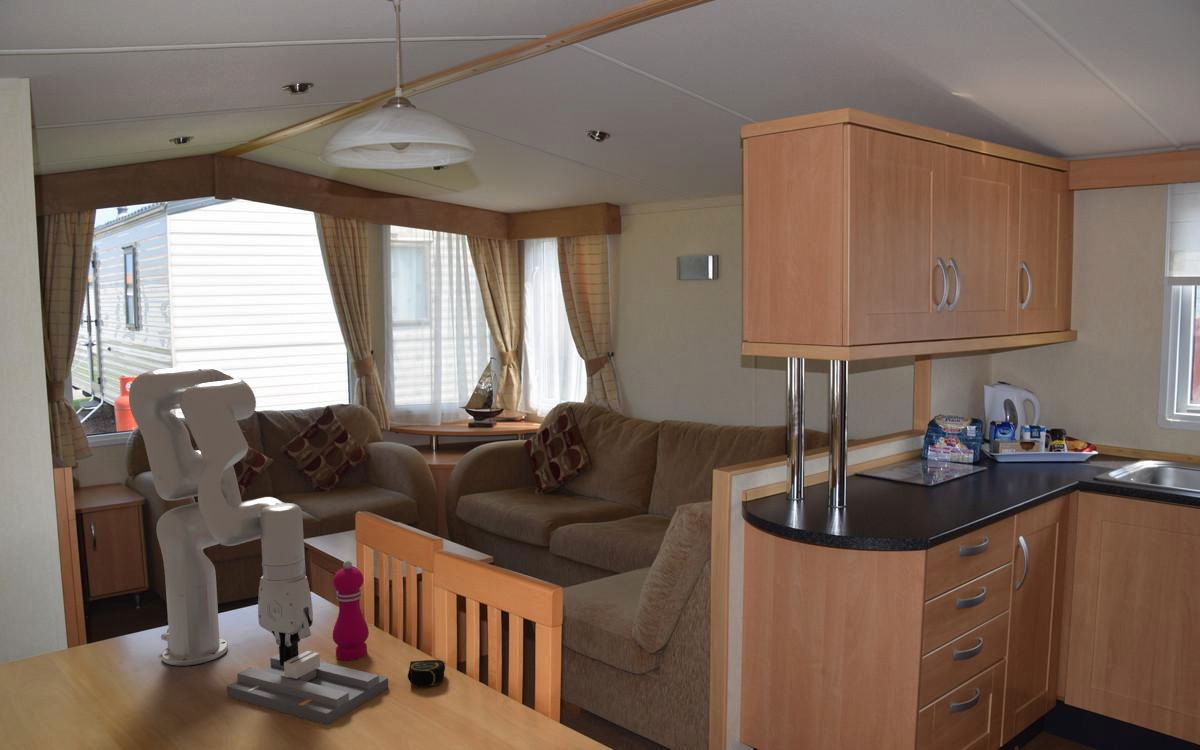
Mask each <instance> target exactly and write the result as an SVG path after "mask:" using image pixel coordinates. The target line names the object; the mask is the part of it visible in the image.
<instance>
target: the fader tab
mask: <svg viewBox="0 0 1200 750" xmlns="http://www.w3.org/2000/svg"><path fill="white" fill-rule="evenodd" d="M320 661H321V657H320V653H319V652H315V651H311V650H306V651H304V652H303V653H300V654H298V656H296V657H294V658H292V659H290V660H288V661H286V662H284V675H285V676H287V677H289V678H293V679H297V680H301V681H305V682H307V681H309V680H311V679H313V678H315V677H317V674H316V668H318V667H320Z"/></svg>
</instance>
